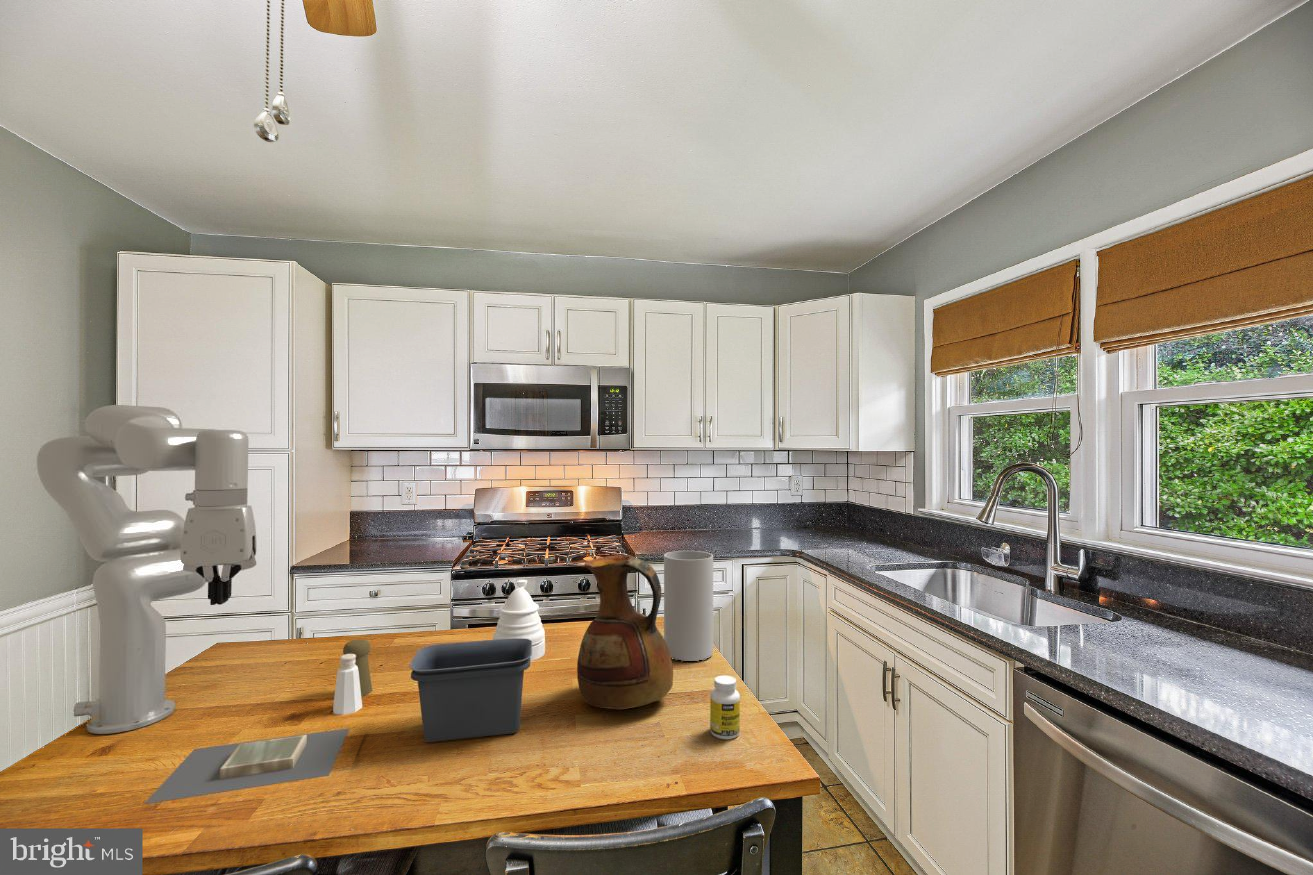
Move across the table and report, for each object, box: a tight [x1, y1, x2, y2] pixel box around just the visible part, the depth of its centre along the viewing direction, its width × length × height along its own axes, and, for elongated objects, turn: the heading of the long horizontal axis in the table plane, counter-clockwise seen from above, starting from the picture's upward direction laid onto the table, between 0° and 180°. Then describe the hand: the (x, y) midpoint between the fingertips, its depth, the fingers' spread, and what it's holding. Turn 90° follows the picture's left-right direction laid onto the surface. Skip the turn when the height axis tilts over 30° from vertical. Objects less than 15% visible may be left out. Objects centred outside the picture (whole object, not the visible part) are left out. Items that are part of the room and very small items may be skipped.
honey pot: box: [492, 579, 546, 662], centre depth 146 cm, size 13×13×18 cm
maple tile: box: [220, 734, 307, 779], centre depth 95 cm, size 2×8×10 cm
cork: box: [342, 638, 373, 698], centre depth 123 cm, size 6×6×11 cm
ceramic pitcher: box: [576, 554, 674, 710], centre depth 119 cm, size 20×20×30 cm
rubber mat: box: [143, 727, 350, 805], centre depth 95 cm, size 24×16×1 cm, turn 108°
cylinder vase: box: [663, 550, 714, 662], centre depth 146 cm, size 12×12×25 cm
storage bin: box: [408, 638, 532, 743], centre depth 108 cm, size 21×16×14 cm
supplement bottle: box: [709, 675, 741, 740], centre depth 105 cm, size 5×5×10 cm
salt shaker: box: [332, 654, 363, 716], centre depth 114 cm, size 5×5×11 cm
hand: (219, 602), depth 102 cm, fingers closed
